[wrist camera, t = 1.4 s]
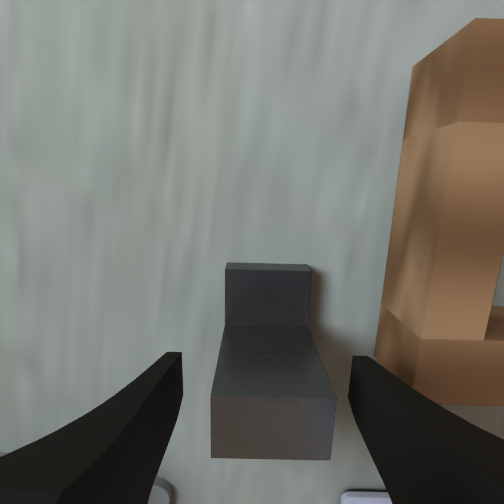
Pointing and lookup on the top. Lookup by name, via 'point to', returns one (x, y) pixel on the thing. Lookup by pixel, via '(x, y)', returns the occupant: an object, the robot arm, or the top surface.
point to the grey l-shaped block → (270, 369)
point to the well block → (449, 226)
